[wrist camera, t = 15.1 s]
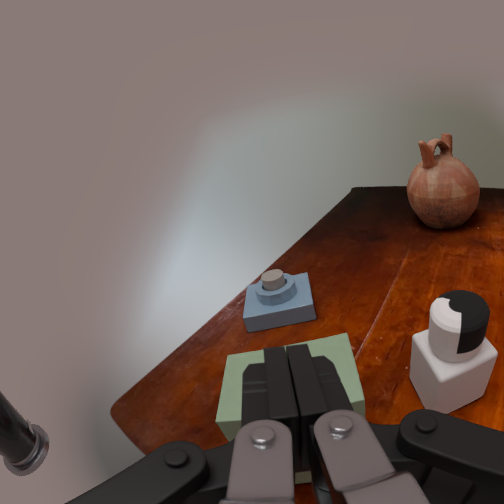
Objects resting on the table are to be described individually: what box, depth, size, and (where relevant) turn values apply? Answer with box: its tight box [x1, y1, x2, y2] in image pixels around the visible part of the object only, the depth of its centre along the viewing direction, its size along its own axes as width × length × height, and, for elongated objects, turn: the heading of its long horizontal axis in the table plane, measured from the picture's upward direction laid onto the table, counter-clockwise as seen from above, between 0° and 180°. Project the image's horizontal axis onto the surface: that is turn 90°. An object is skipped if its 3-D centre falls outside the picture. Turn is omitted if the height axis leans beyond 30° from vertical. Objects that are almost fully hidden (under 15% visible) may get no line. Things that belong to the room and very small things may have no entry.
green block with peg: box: [216, 333, 365, 484], centre depth 23 cm, size 10×7×15 cm
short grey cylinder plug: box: [261, 269, 286, 291], centre depth 50 cm, size 4×4×2 cm
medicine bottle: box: [409, 290, 498, 414], centre depth 25 cm, size 7×7×12 cm
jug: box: [407, 134, 480, 229], centre depth 58 cm, size 18×18×20 cm
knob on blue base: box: [243, 272, 316, 333], centre depth 51 cm, size 11×10×5 cm
